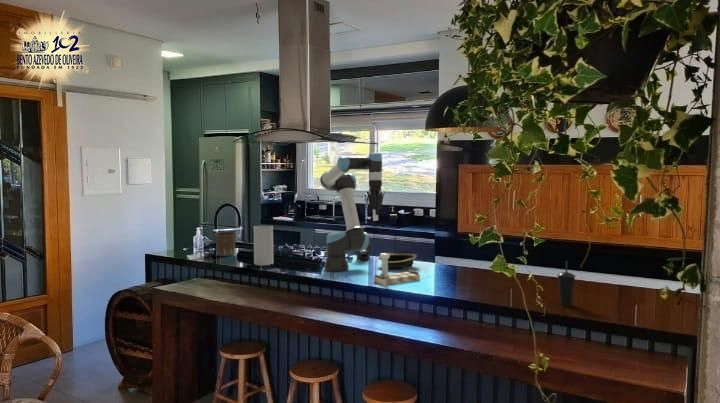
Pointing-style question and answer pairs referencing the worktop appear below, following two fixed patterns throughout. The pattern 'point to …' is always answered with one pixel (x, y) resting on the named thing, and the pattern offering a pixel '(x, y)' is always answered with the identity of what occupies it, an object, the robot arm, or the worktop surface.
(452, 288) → the worktop surface
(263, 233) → the cylinder vase
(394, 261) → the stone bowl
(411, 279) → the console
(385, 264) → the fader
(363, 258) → the french press
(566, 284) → the drinking cup
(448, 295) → the worktop surface
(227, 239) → the plant pot
